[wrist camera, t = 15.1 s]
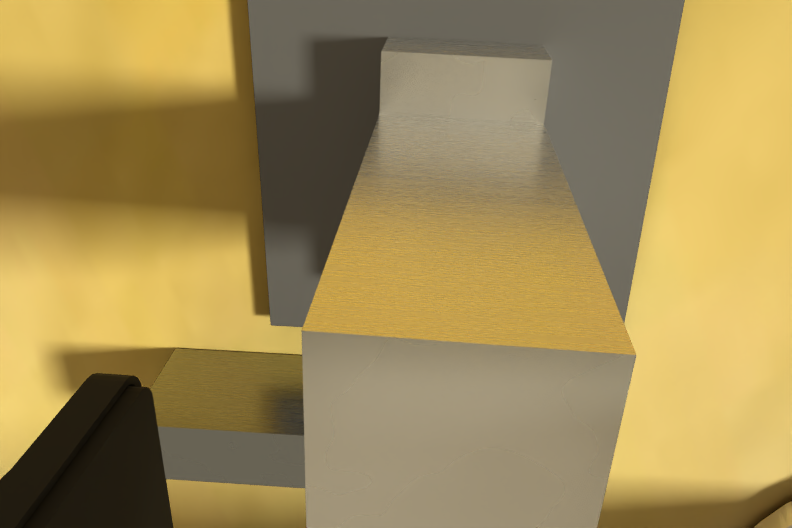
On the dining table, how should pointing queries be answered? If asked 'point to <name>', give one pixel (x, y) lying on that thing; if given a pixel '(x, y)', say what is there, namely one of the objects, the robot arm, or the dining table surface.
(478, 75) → the steel post
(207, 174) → the dining table surface
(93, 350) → the dining table surface
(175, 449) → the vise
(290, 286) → the mat
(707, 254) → the dining table surface
